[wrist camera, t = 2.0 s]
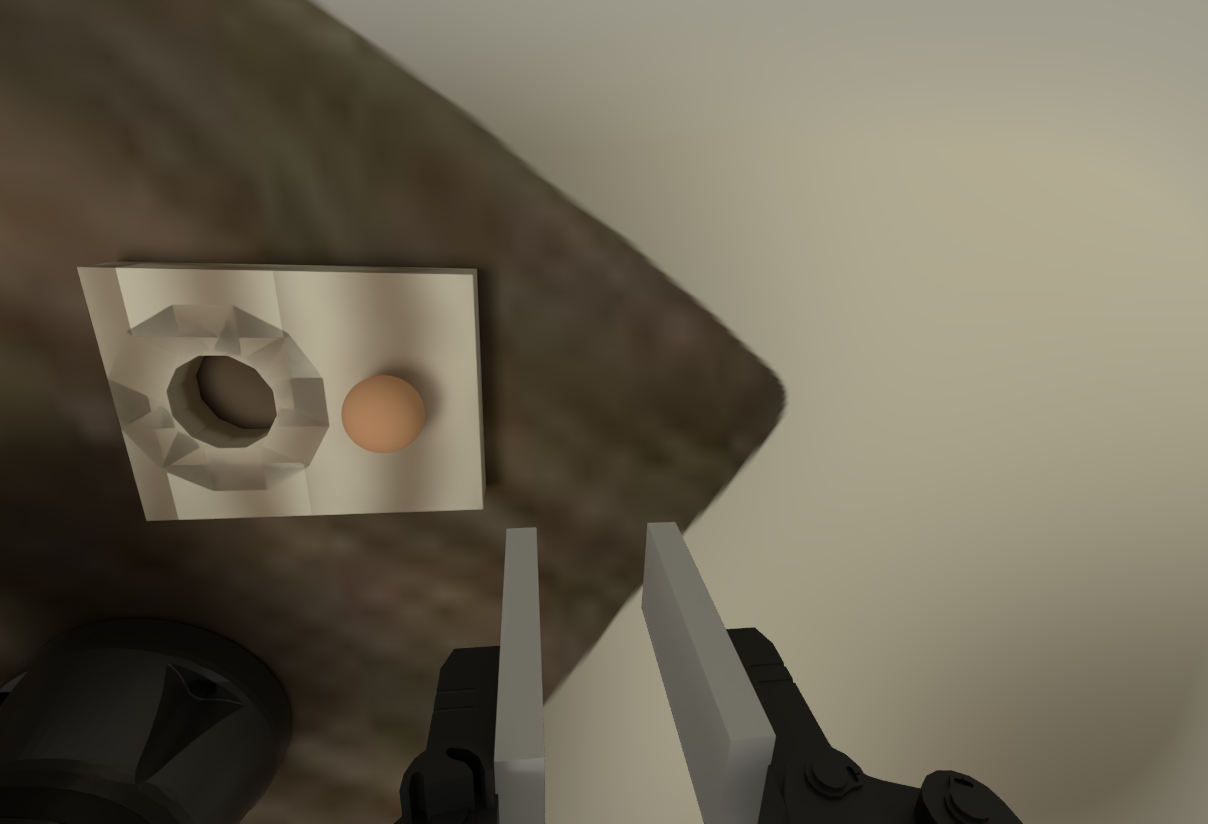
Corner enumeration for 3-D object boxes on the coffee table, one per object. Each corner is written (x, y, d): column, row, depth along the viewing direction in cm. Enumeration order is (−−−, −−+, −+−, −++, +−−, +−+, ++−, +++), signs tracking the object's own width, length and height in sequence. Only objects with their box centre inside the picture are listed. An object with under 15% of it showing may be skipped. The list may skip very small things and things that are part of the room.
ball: (358, 436, 28) (336, 467, 24) (349, 366, 26) (325, 389, 23) (432, 434, 28) (421, 465, 25) (427, 365, 27) (414, 388, 24)
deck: (176, 496, 30) (146, 521, 28) (117, 261, 26) (77, 267, 24) (485, 486, 32) (482, 509, 30) (477, 268, 28) (472, 274, 26)
